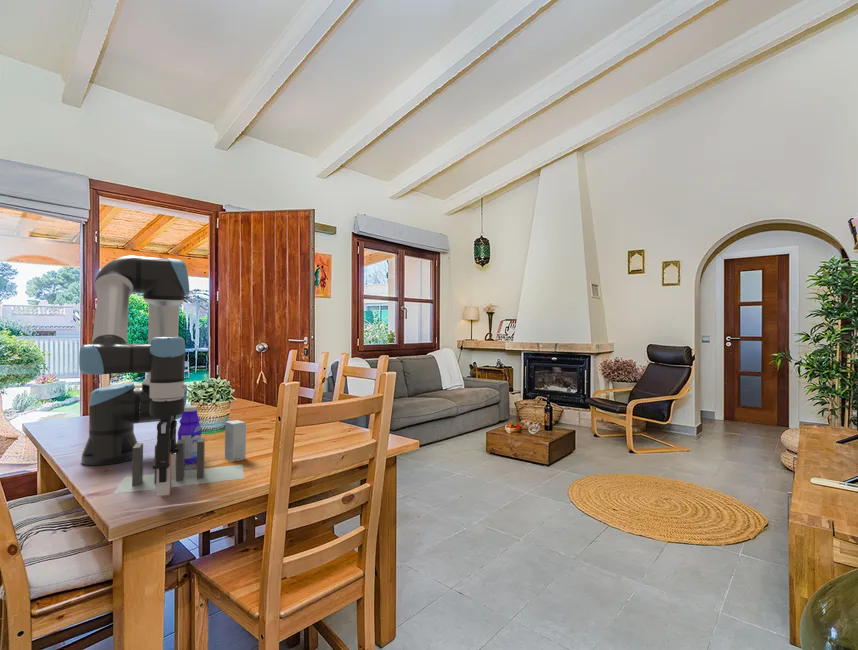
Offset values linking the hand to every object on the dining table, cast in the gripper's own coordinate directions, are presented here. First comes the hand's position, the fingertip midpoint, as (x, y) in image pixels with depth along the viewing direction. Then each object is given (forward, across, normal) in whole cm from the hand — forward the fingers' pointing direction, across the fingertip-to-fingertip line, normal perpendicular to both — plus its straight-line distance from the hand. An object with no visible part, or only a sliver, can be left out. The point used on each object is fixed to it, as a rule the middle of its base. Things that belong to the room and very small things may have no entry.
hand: (166, 487), depth 112 cm
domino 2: (+2, +12, +3) cm, 12 cm away
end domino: (+2, 0, 0) cm, 2 cm away
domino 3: (+2, +12, -2) cm, 12 cm away
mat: (+2, +12, -3) cm, 13 cm away
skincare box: (+2, +27, -16) cm, 31 cm away
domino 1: (+2, +12, +8) cm, 15 cm away
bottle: (+2, +29, -3) cm, 29 cm away
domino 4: (+2, +12, -7) cm, 14 cm away
